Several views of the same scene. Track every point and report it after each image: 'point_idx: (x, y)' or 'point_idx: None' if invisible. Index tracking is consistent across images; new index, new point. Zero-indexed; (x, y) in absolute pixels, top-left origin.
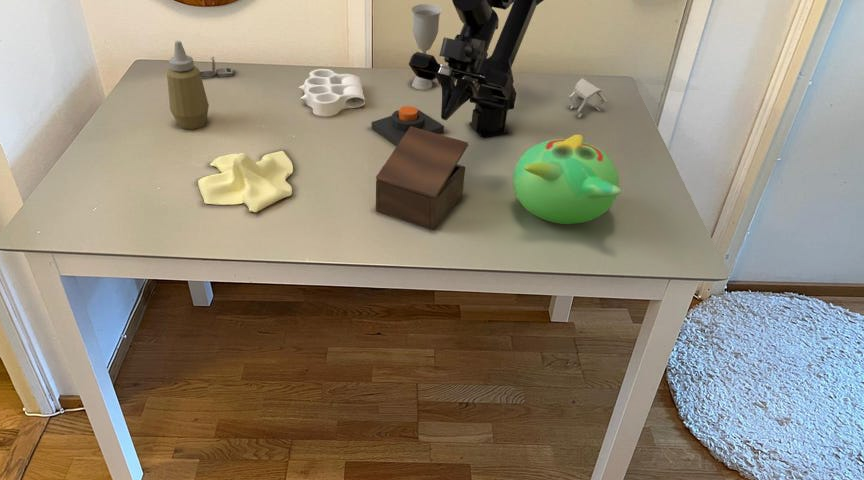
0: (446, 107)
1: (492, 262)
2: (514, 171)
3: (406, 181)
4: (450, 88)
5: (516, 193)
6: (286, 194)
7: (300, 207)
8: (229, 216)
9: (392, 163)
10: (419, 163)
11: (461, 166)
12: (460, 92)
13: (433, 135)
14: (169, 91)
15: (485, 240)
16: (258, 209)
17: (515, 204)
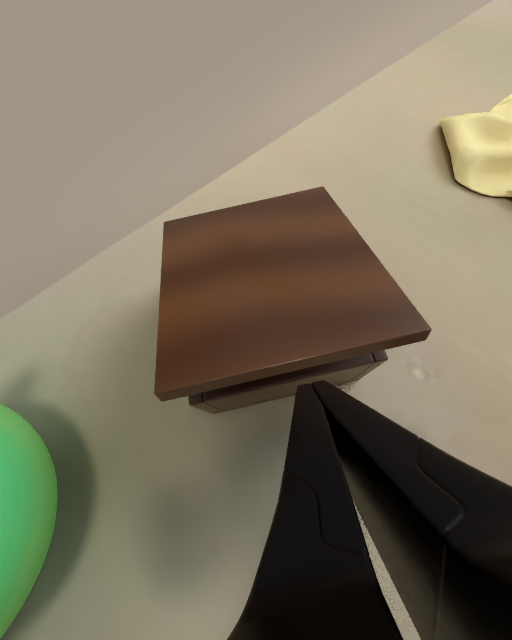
0: (336, 426)
1: (63, 280)
2: (11, 464)
3: (250, 211)
4: (468, 593)
5: (22, 419)
6: (458, 168)
7: (411, 175)
8: (456, 104)
9: (325, 218)
10: (259, 250)
11: (200, 397)
12: (276, 573)
13: (307, 344)
14: None
15: (97, 318)
16: (442, 123)
17: (90, 480)
